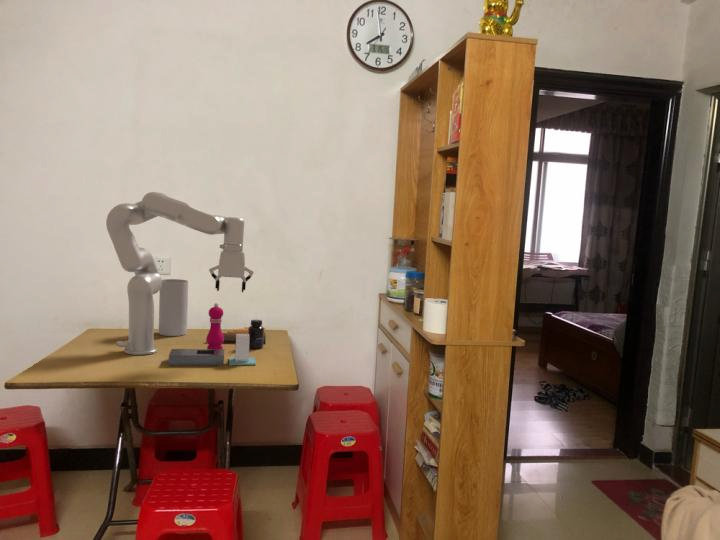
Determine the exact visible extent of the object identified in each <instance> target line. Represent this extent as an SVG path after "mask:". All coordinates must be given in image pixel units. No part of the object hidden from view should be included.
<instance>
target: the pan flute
mask: <svg viewBox="0 0 720 540" xmlns="http://www.w3.org/2000/svg"><path fill="white" fill-rule="evenodd" d="M249 327H250V326H244V327H243V328H238V329H233V330H232V331H230V330H229V331H227V332H222V334H223V336H224V342H223V343H222V344H236V334H248V328H249ZM263 328H264V340H263V345H266V338H267V337H266V327H263Z"/></svg>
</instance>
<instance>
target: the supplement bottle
mask: <svg viewBox="0 0 720 540" xmlns="http://www.w3.org/2000/svg"><path fill="white" fill-rule="evenodd" d="M248 327H249V328H248V334H249V336H250V337H249V350H250V349H251V350H260V349H263V348H264V344H263V340H264V328H265V327H263V320H262V319H251V320H250V326H248Z"/></svg>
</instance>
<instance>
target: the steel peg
mask: <svg viewBox="0 0 720 540" xmlns="http://www.w3.org/2000/svg"><path fill="white" fill-rule="evenodd" d="M249 337H250V336H249V334H236V343H235V356H234V357H235V362H249V357H250V348H249Z"/></svg>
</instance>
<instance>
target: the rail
mask: <svg viewBox="0 0 720 540" xmlns="http://www.w3.org/2000/svg"><path fill="white" fill-rule="evenodd" d="M204 365H205V366H206V367H209V366H210V367H211V366H212V367H215V366H216V365H217V366H218V367H219V366H220V367H221V366H224V365H225V349H224V348H222V349H207V348H171V350H170V352H169V354H168V367H169V366H170V367H177V366H179V367H180V366H181V367H182V366H183V367H185V366H186V367H193V366H194V367H205V366H204ZM214 365H215V366H214ZM217 366H216V367H217Z"/></svg>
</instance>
